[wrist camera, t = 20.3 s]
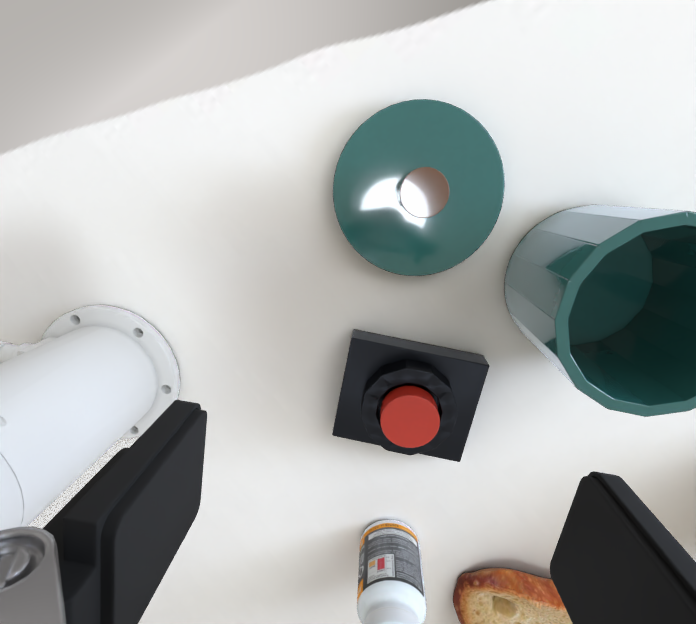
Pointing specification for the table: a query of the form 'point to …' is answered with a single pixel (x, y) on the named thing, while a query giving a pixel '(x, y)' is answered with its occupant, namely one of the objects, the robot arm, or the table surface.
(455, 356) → the button housing
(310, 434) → the table surface
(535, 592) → the bread slice
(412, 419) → the release button
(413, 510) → the table surface
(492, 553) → the table surface
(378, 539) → the pill bottle
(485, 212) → the lid
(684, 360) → the canister
